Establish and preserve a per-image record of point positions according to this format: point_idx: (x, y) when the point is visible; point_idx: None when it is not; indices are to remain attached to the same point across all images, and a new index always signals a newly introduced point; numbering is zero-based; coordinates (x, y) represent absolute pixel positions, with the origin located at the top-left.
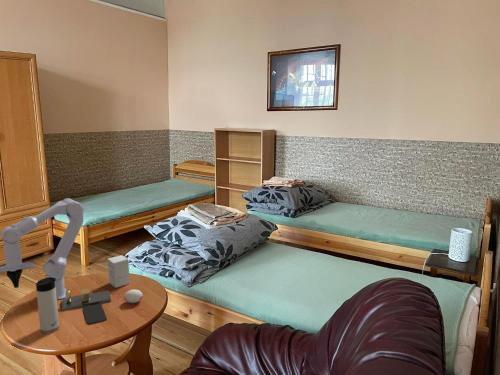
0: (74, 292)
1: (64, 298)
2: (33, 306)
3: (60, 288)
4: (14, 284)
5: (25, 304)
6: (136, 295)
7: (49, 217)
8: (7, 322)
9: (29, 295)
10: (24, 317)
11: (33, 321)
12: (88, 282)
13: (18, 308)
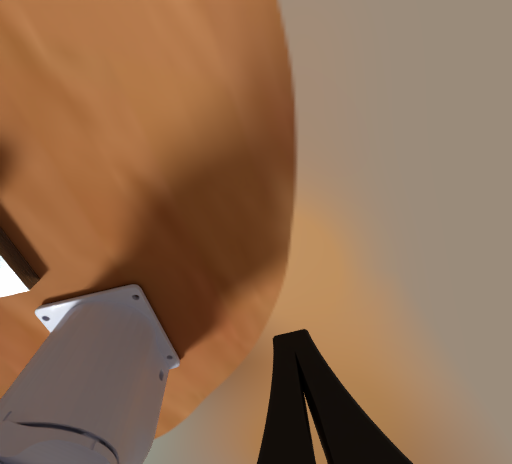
0: (31, 353)
1: (13, 288)
2: (188, 242)
3: (29, 361)
4: (312, 363)
5: (242, 268)
6: None
7: None
8: (276, 51)
9: (254, 344)
10: (184, 106)
11: (81, 15)
12: None
13: (265, 232)
